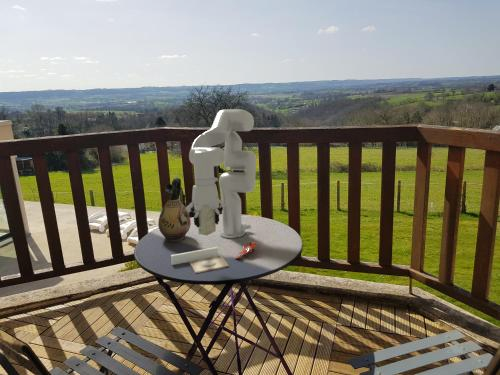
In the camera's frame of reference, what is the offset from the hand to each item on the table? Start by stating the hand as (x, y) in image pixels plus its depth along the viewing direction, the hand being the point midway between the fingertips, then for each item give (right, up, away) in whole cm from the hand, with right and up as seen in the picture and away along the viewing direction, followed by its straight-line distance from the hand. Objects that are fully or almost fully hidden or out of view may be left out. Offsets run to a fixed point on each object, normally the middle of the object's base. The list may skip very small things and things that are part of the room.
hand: (206, 224), depth 146 cm
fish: (+16, -15, +15) cm, 26 cm away
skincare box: (0, -3, +1) cm, 4 cm away
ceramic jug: (-19, -10, +34) cm, 41 cm away
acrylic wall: (-6, -16, +9) cm, 19 cm away
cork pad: (0, -17, +4) cm, 18 cm away
